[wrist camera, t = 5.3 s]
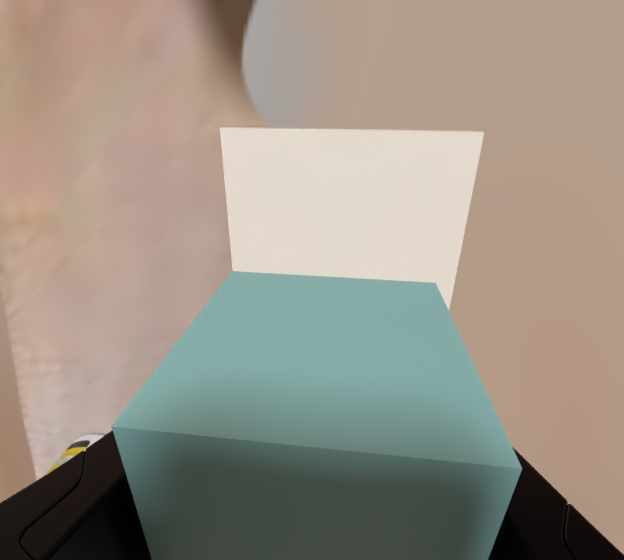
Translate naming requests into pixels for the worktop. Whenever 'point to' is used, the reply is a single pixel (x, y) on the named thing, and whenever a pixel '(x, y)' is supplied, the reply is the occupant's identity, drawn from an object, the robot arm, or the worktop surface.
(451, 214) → the coaster
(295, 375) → the teal cube
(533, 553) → the robot arm
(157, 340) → the worktop surface
